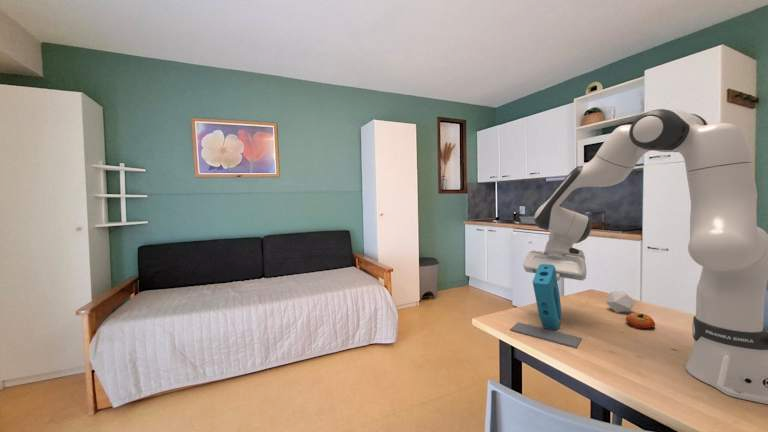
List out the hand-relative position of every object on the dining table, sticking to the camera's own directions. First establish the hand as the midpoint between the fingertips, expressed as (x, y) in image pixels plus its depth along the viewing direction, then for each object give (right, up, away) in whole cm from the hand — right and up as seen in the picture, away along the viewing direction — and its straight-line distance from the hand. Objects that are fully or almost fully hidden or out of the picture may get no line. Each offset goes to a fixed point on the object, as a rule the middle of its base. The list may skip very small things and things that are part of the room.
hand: (549, 284), depth 108 cm
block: (+2, -14, +2) cm, 14 cm away
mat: (-5, -16, -6) cm, 17 cm away
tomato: (+32, -15, 0) cm, 35 cm away
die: (+36, -14, +14) cm, 41 cm away
